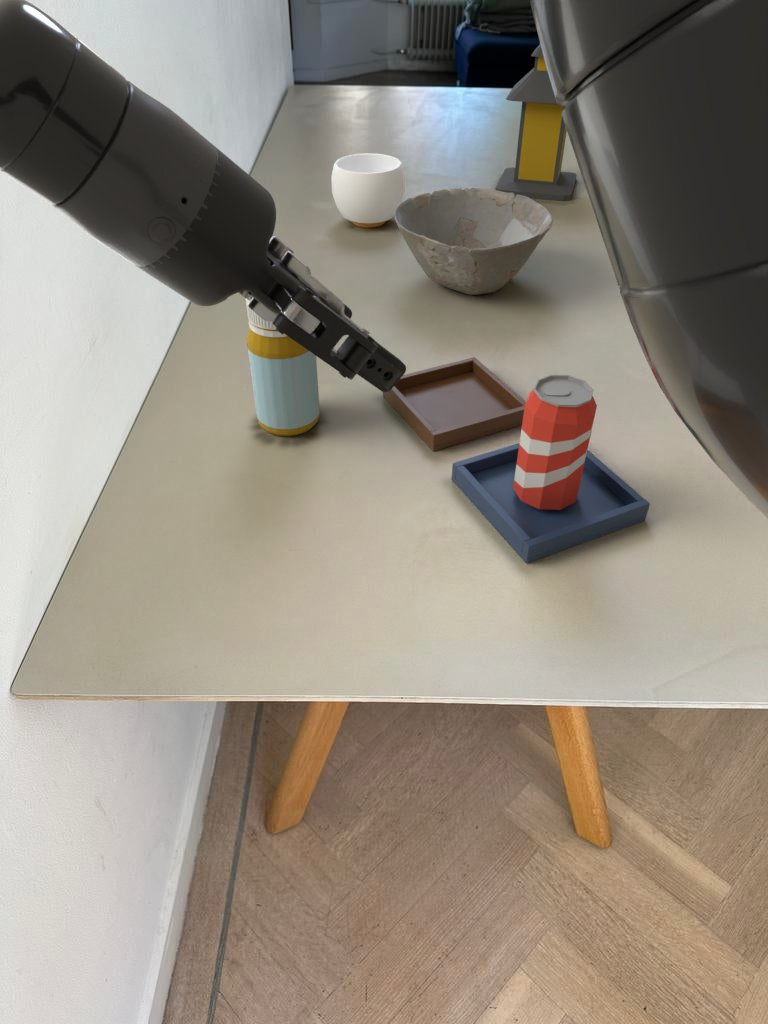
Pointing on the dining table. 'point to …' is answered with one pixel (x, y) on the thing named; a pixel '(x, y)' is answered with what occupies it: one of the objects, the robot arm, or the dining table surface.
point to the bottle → (281, 379)
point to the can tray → (540, 530)
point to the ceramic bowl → (472, 236)
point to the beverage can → (554, 441)
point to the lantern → (538, 140)
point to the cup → (368, 188)
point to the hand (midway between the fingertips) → (367, 349)
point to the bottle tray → (456, 403)
